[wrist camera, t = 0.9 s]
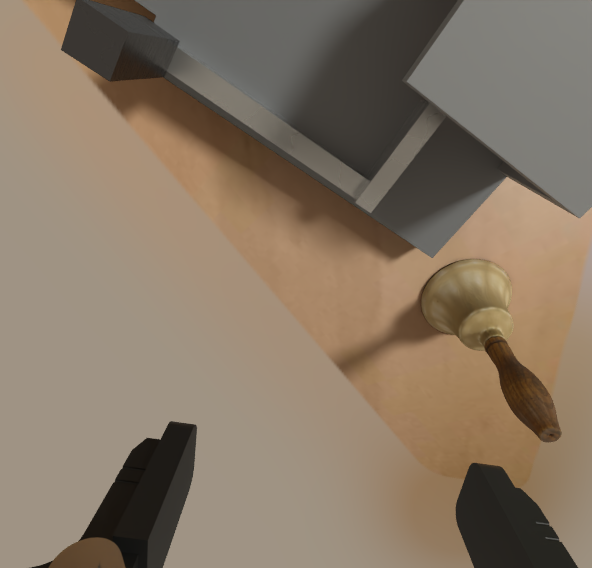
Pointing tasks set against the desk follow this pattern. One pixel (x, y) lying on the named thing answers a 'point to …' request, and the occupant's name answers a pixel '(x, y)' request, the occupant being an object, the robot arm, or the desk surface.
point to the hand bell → (489, 334)
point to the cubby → (413, 92)
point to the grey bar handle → (233, 96)
